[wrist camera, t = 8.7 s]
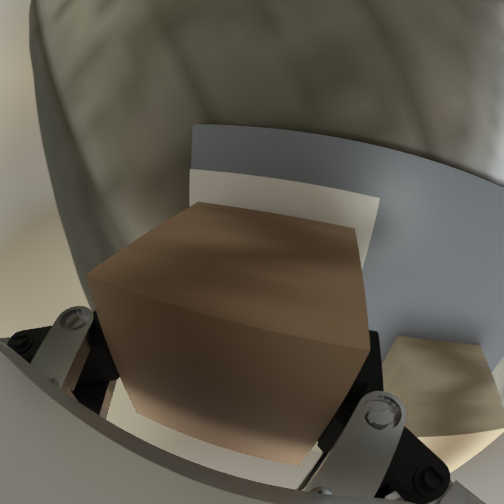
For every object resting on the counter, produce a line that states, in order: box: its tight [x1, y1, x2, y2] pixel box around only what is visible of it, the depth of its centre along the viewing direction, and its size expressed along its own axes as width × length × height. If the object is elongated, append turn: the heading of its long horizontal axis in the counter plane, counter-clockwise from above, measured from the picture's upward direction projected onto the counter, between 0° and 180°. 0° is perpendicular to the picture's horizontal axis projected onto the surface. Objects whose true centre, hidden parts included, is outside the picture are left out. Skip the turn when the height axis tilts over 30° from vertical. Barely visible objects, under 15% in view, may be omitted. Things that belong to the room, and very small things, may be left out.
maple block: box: [382, 335, 504, 472], centre depth 10 cm, size 6×6×6 cm
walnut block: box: [86, 202, 370, 466], centre depth 9 cm, size 6×6×6 cm
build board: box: [189, 124, 504, 372], centre depth 12 cm, size 20×15×1 cm
